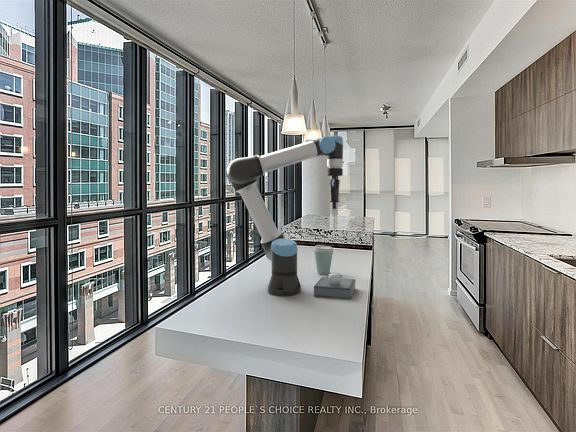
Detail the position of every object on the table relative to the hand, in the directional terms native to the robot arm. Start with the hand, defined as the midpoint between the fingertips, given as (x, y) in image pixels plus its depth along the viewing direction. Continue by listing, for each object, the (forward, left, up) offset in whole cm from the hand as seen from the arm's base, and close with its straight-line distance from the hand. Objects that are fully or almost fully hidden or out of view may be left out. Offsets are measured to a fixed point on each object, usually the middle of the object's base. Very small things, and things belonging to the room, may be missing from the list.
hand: (334, 215), depth 195 cm
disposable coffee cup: (+4, +15, -33) cm, 37 cm away
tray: (-12, -18, -33) cm, 39 cm away
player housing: (-13, -19, -33) cm, 40 cm away
